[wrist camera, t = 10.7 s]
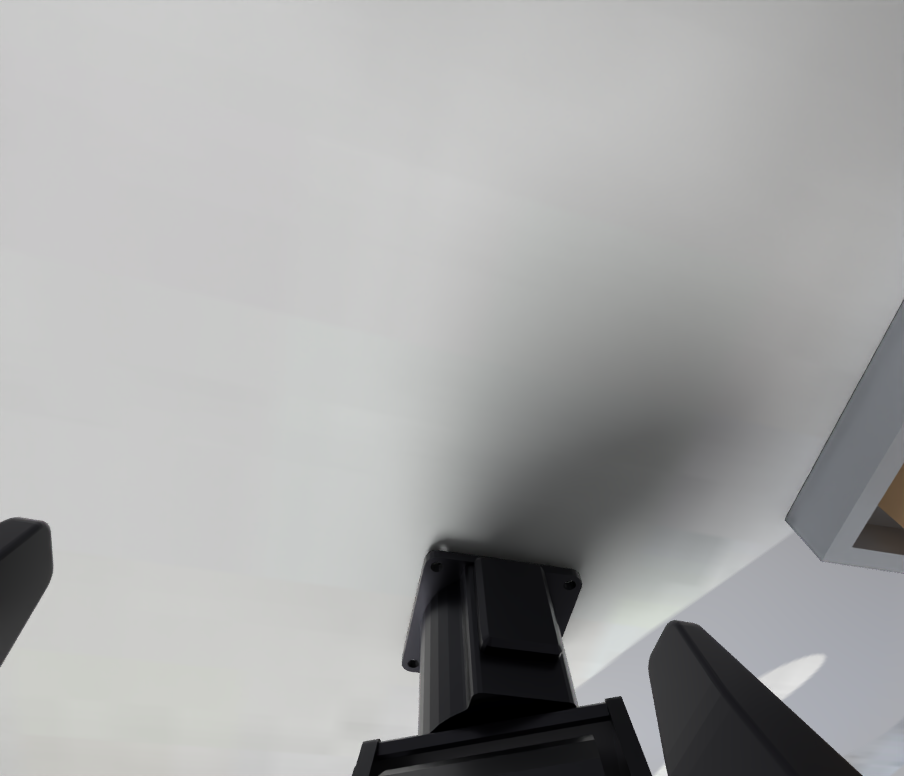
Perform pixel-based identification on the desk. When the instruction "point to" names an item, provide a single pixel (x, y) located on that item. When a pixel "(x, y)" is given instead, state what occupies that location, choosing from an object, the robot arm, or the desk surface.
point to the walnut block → (895, 498)
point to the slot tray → (860, 470)
